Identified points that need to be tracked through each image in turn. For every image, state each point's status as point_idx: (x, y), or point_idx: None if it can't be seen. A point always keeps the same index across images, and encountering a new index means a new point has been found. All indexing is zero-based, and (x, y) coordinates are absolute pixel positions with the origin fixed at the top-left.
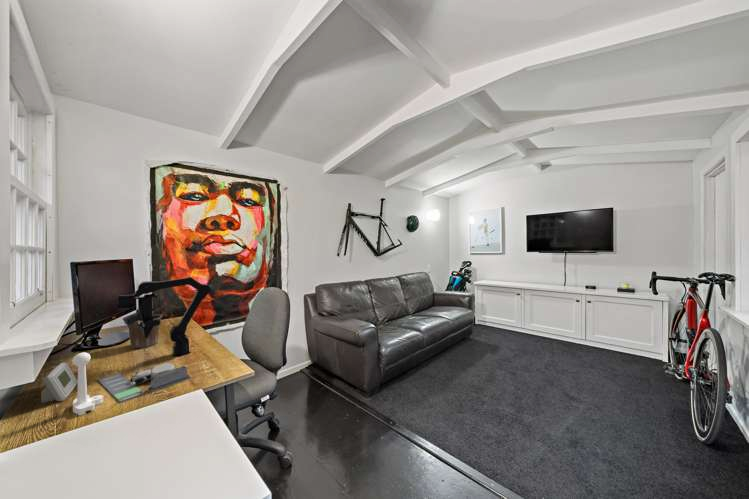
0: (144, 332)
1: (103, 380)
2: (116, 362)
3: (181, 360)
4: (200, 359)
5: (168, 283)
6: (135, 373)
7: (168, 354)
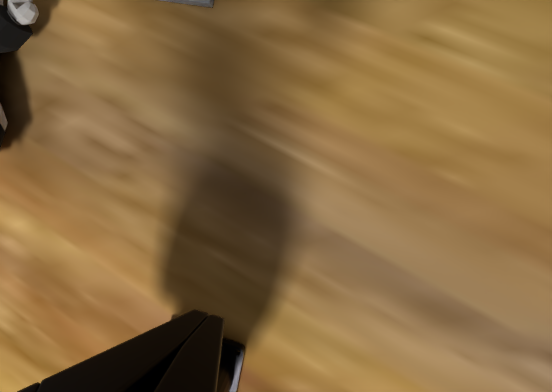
0: (57, 379)
1: None
2: (501, 112)
3: (100, 290)
4: (33, 326)
5: None
6: (18, 13)
7: (269, 338)
